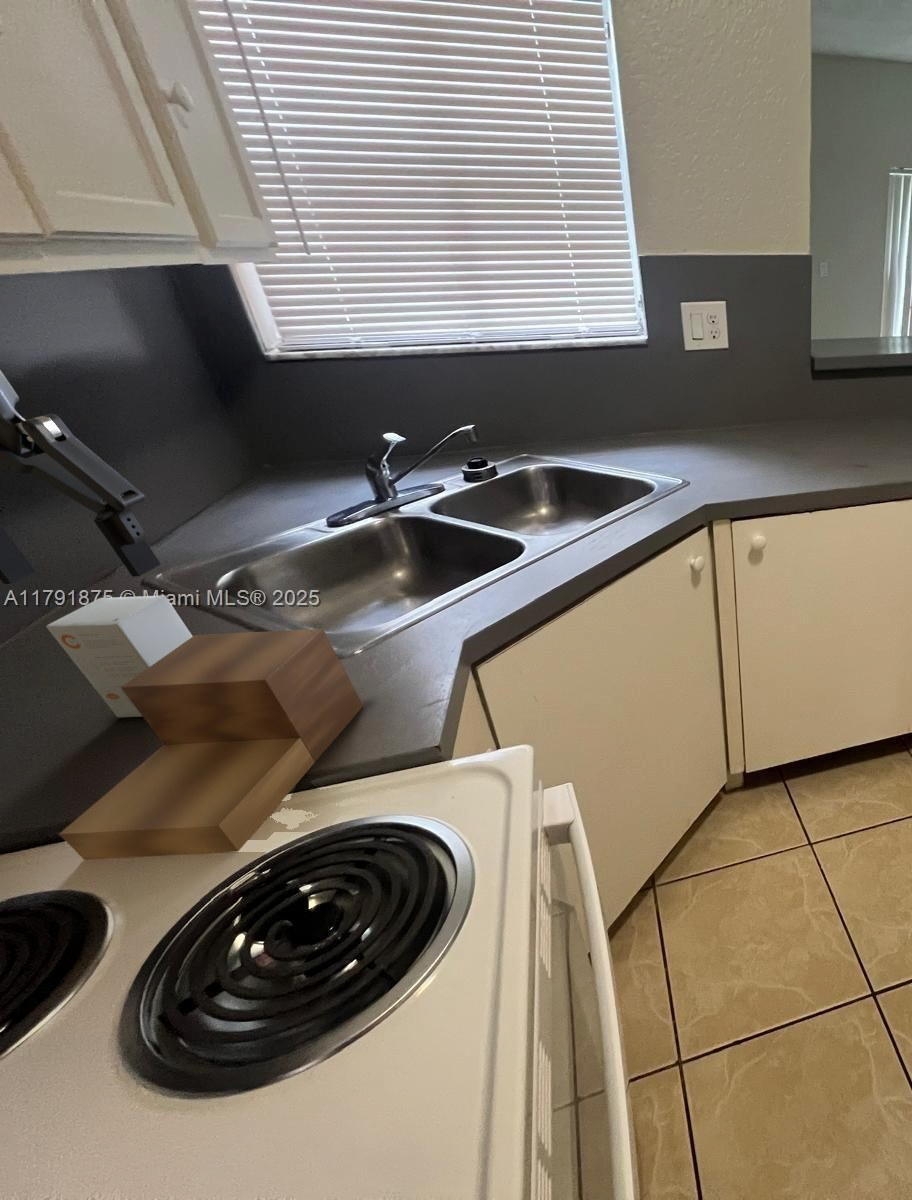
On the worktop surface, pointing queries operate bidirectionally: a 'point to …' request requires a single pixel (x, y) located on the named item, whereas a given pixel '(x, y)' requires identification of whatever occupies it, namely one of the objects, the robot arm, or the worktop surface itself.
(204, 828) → the shelf stand
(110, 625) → the small box
